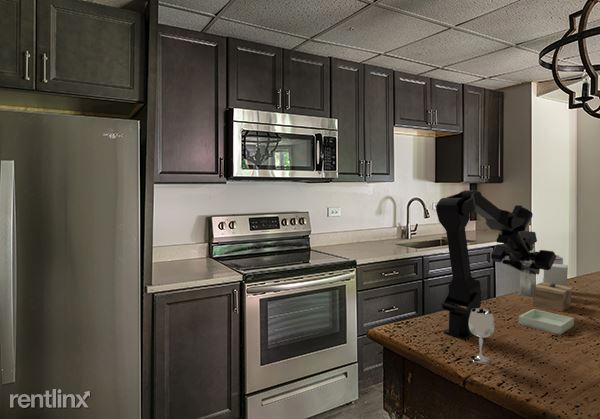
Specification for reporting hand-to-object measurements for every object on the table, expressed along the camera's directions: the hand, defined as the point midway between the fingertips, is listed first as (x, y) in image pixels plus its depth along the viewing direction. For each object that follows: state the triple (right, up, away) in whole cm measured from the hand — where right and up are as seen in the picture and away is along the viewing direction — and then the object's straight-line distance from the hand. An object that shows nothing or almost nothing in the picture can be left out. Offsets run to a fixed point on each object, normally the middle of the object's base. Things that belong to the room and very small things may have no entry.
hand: (530, 272), depth 132 cm
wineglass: (-34, -16, -37) cm, 52 cm away
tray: (-3, -14, -13) cm, 19 cm away
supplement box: (+19, -13, +16) cm, 28 cm away
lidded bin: (+11, -13, +6) cm, 18 cm away
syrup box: (+24, -12, +25) cm, 37 cm away
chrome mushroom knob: (-1, -8, 0) cm, 8 cm away
